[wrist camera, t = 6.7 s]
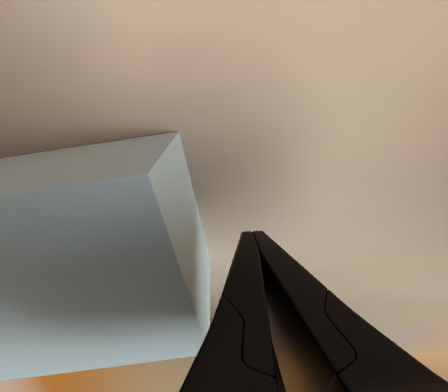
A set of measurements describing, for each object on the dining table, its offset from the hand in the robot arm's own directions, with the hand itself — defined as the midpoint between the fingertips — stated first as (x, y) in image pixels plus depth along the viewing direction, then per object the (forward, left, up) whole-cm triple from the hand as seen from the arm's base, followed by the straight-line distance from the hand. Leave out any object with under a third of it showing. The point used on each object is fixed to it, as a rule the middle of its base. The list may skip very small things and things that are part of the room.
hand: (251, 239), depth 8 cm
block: (-3, +6, -3) cm, 7 cm away
